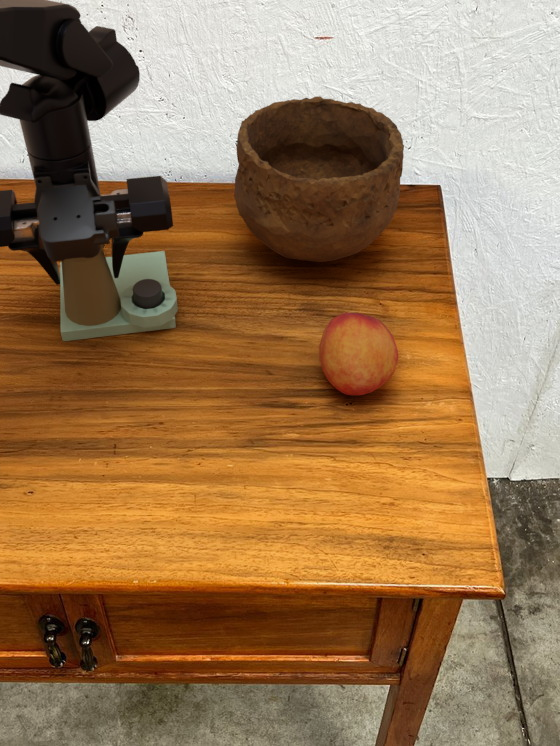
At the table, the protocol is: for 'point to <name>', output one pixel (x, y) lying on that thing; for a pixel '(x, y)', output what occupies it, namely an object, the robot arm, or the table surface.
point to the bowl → (318, 177)
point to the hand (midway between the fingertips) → (87, 279)
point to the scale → (129, 300)
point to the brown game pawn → (89, 290)
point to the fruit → (357, 353)
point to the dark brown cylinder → (147, 293)
